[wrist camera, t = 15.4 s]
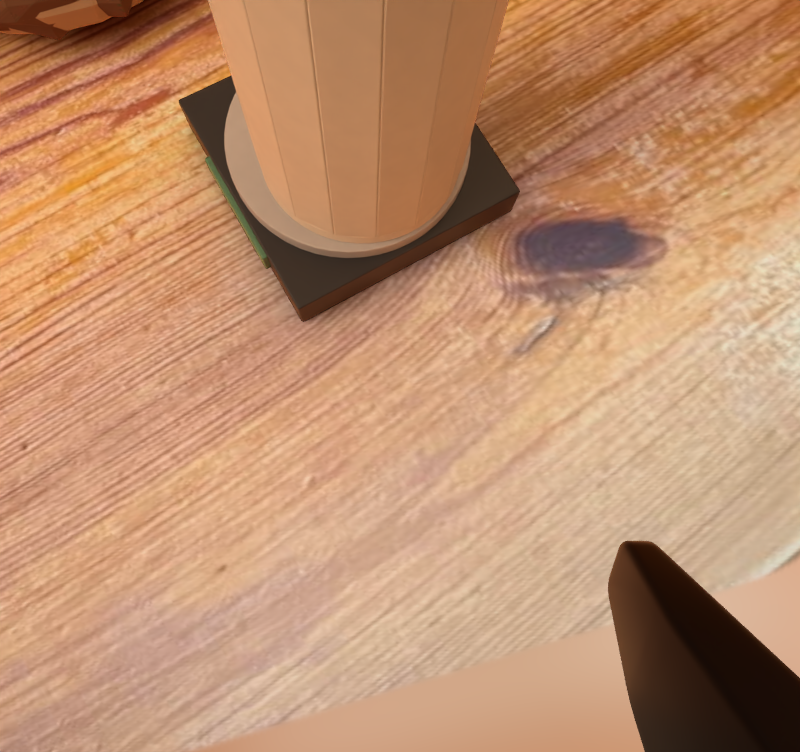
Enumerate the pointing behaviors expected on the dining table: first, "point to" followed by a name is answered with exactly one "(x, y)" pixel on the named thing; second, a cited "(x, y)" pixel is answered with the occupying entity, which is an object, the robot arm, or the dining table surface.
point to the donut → (58, 15)
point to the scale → (314, 254)
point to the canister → (360, 104)
